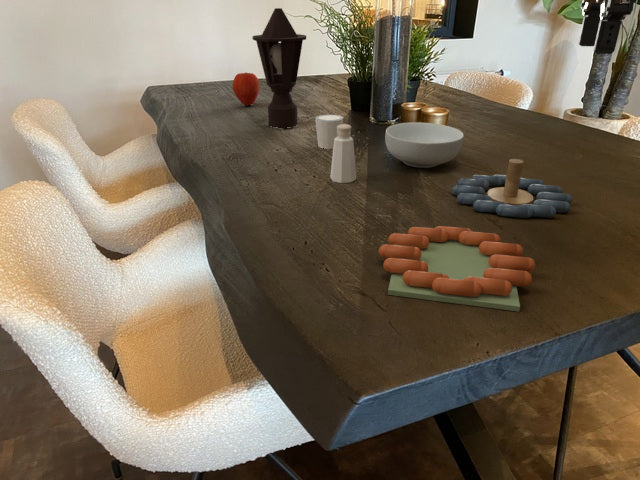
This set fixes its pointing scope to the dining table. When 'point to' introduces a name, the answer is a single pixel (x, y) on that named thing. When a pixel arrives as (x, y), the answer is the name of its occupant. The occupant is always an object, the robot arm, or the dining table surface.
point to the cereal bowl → (423, 143)
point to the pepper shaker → (343, 156)
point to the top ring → (495, 279)
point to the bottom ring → (544, 206)
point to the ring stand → (512, 187)
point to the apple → (246, 87)
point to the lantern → (280, 67)
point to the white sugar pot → (327, 129)
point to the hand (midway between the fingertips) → (594, 49)
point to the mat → (454, 276)
